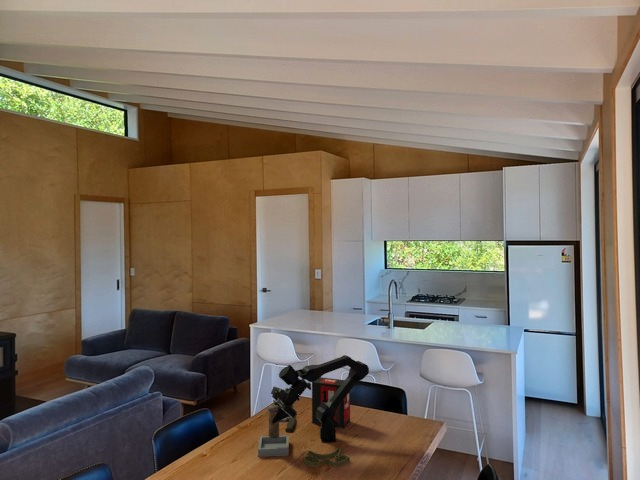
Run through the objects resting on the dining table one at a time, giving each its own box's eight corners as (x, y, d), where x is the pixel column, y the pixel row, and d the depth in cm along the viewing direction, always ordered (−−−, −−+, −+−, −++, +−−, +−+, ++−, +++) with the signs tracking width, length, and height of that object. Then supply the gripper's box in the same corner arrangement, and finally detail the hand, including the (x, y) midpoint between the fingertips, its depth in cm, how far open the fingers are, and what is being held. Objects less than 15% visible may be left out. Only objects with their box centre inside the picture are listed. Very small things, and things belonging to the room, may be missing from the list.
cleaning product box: (350, 421, 219) (349, 380, 219) (344, 428, 211) (343, 385, 211) (319, 416, 225) (318, 377, 225) (312, 423, 217) (311, 382, 217)
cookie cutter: (344, 452, 187) (344, 447, 187) (351, 465, 175) (351, 460, 175) (302, 455, 184) (302, 451, 184) (306, 470, 172) (306, 465, 172)
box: (288, 442, 196) (288, 435, 196) (288, 455, 183) (288, 448, 183) (260, 443, 195) (260, 436, 195) (258, 456, 182) (258, 449, 182)
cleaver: (297, 432, 207) (297, 428, 207) (275, 433, 206) (275, 429, 206) (294, 410, 236) (294, 406, 236) (276, 411, 235) (276, 406, 235)
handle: (280, 434, 191) (280, 405, 191) (277, 438, 186) (277, 408, 187) (270, 433, 192) (270, 404, 192) (267, 438, 187) (266, 408, 188)
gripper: (276, 374, 200) (252, 402, 195) (289, 386, 182) (263, 417, 178) (293, 389, 202) (269, 417, 198) (307, 402, 185) (282, 433, 181)
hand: (270, 421), depth 189 cm, fingers closed on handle, 4 cm apart
